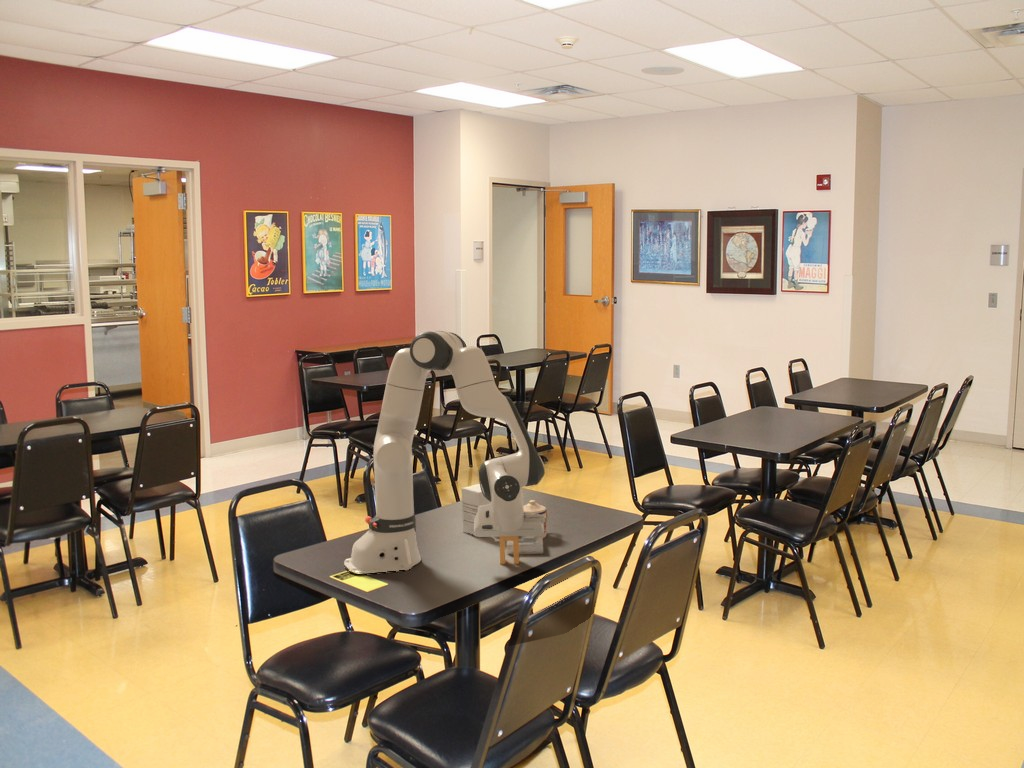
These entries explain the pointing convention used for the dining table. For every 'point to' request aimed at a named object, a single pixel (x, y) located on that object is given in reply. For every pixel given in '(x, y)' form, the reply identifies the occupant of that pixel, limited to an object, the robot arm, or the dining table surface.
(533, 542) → the rectangular frame block
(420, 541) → the dining table surface
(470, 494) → the supplement box
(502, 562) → the orange notched arch block
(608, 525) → the dining table surface
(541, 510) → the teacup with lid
